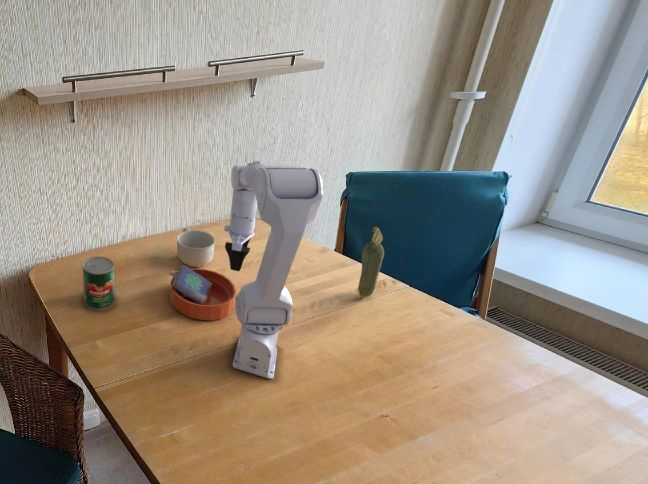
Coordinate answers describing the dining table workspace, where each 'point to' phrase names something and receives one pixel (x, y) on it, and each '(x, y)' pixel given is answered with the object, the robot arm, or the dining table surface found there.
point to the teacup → (195, 247)
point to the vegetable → (371, 264)
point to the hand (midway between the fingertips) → (237, 262)
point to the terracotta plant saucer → (216, 303)
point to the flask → (191, 284)
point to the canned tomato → (98, 283)
